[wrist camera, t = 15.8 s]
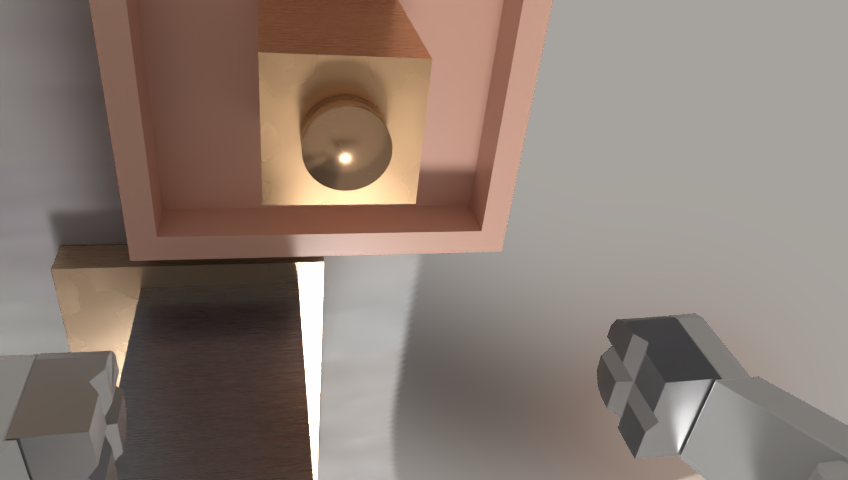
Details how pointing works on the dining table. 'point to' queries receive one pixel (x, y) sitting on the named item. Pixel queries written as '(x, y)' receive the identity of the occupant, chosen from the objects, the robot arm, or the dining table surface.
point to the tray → (241, 139)
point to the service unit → (204, 358)
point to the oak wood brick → (340, 102)
